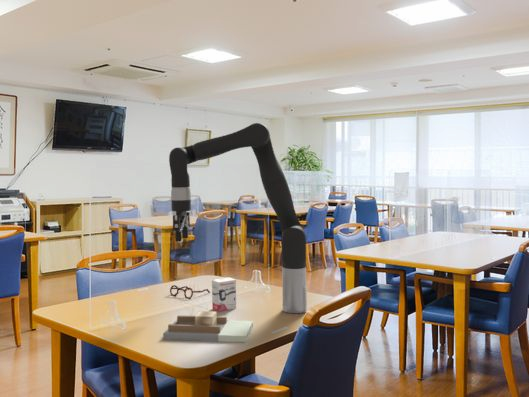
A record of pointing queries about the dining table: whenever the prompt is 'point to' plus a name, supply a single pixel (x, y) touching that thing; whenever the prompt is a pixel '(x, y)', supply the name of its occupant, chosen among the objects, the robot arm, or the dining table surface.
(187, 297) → the glasses
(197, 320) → the beech block
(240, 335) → the channel deck
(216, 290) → the ink box
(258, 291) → the dining table surface
